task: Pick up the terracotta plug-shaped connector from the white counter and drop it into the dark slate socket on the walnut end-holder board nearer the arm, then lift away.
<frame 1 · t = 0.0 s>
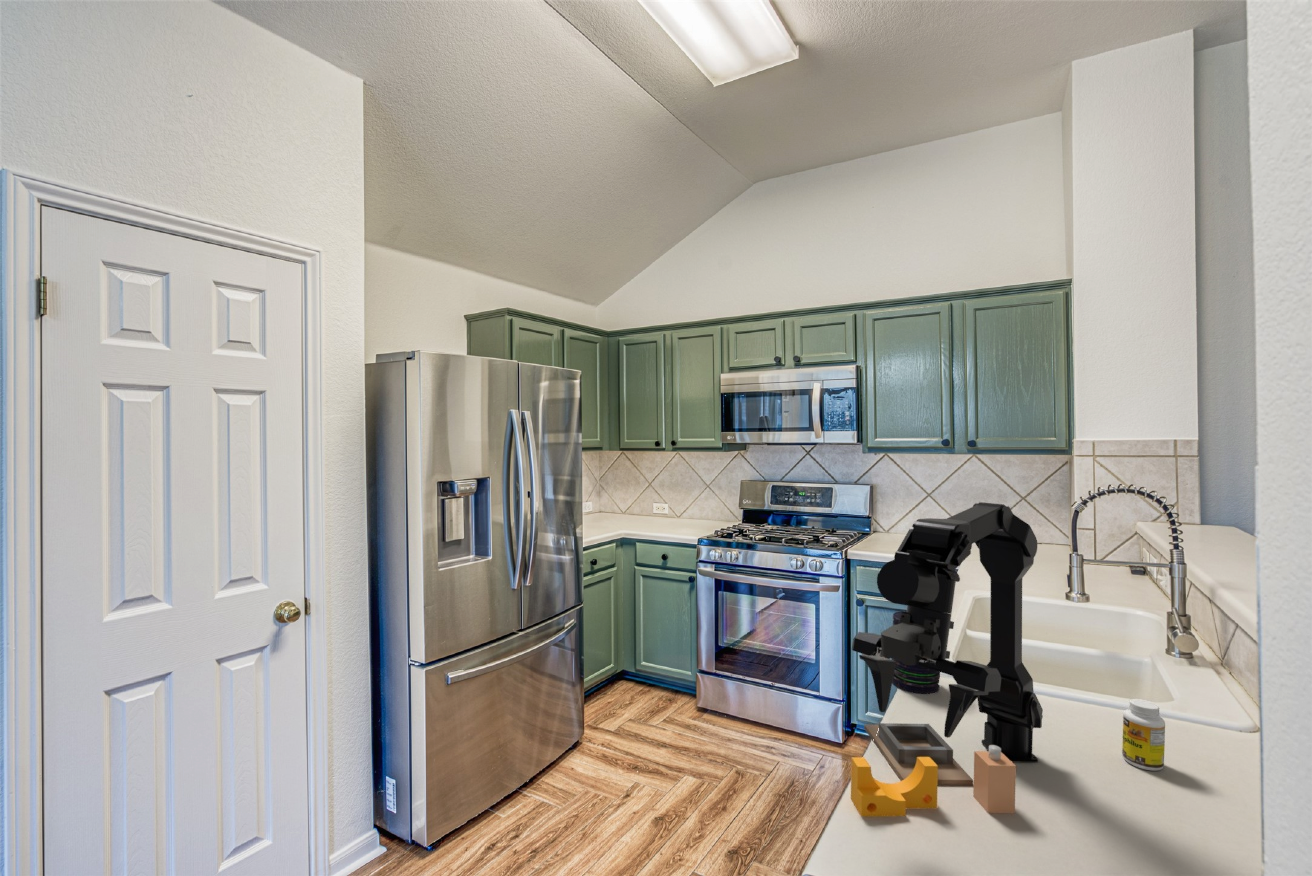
hand: (913, 723, 85), 15 cm above the worktop, tool pointing down, fingers open, 9 cm apart
storage jar: (915, 685, 136), on the worktop
supplement bottle: (1142, 764, 105), on the worktop
connector: (993, 804, 92), on the worktop
end holder: (913, 754, 106), on the worktop
pipe clamp: (895, 809, 91), on the worktop
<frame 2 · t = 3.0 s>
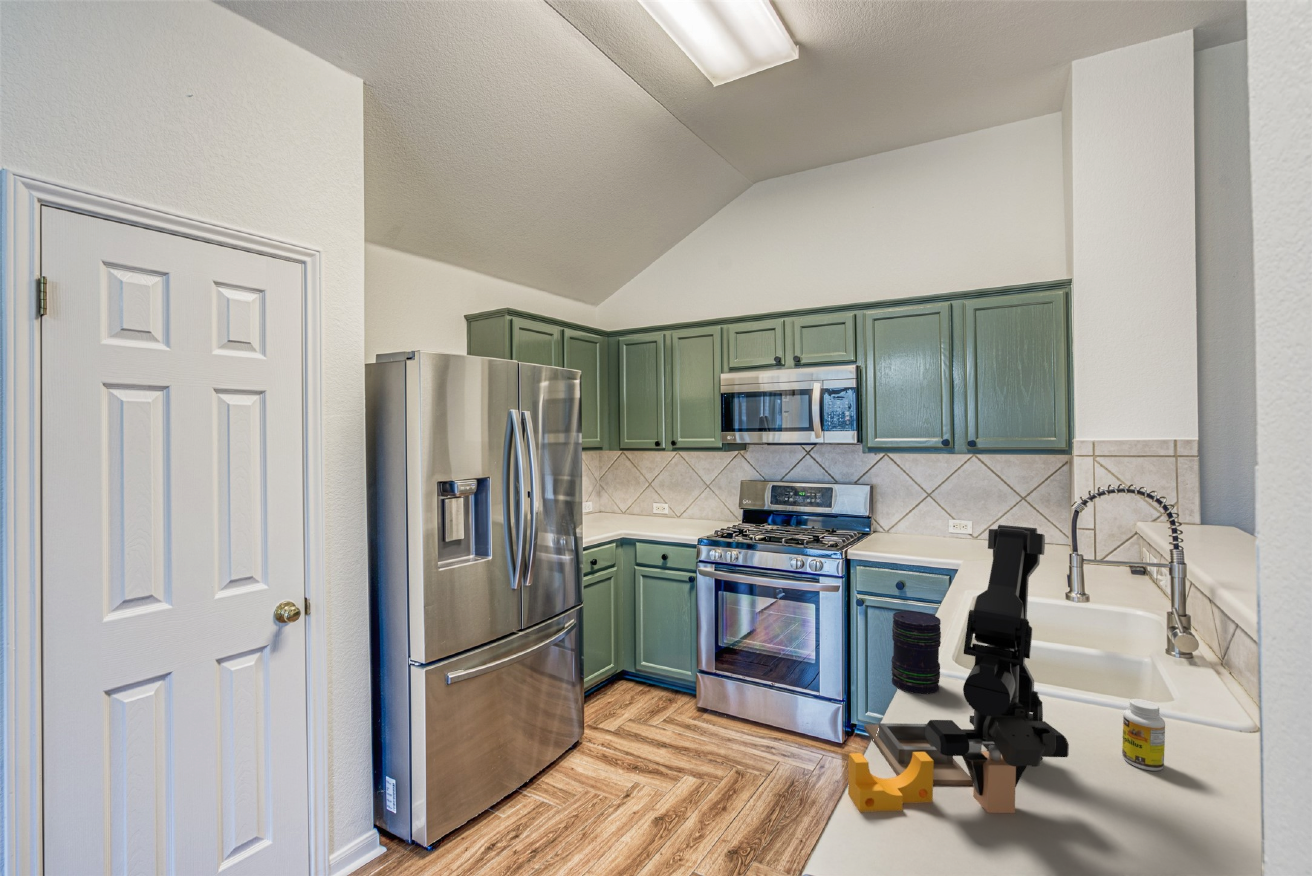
hand: (993, 794, 92), 2 cm above the worktop, tool pointing down, fingers closed on connector, 4 cm apart
connector: (993, 804, 92), on the worktop, touching gripper
pipe clamp: (892, 803, 93), on the worktop
everything else where it was.
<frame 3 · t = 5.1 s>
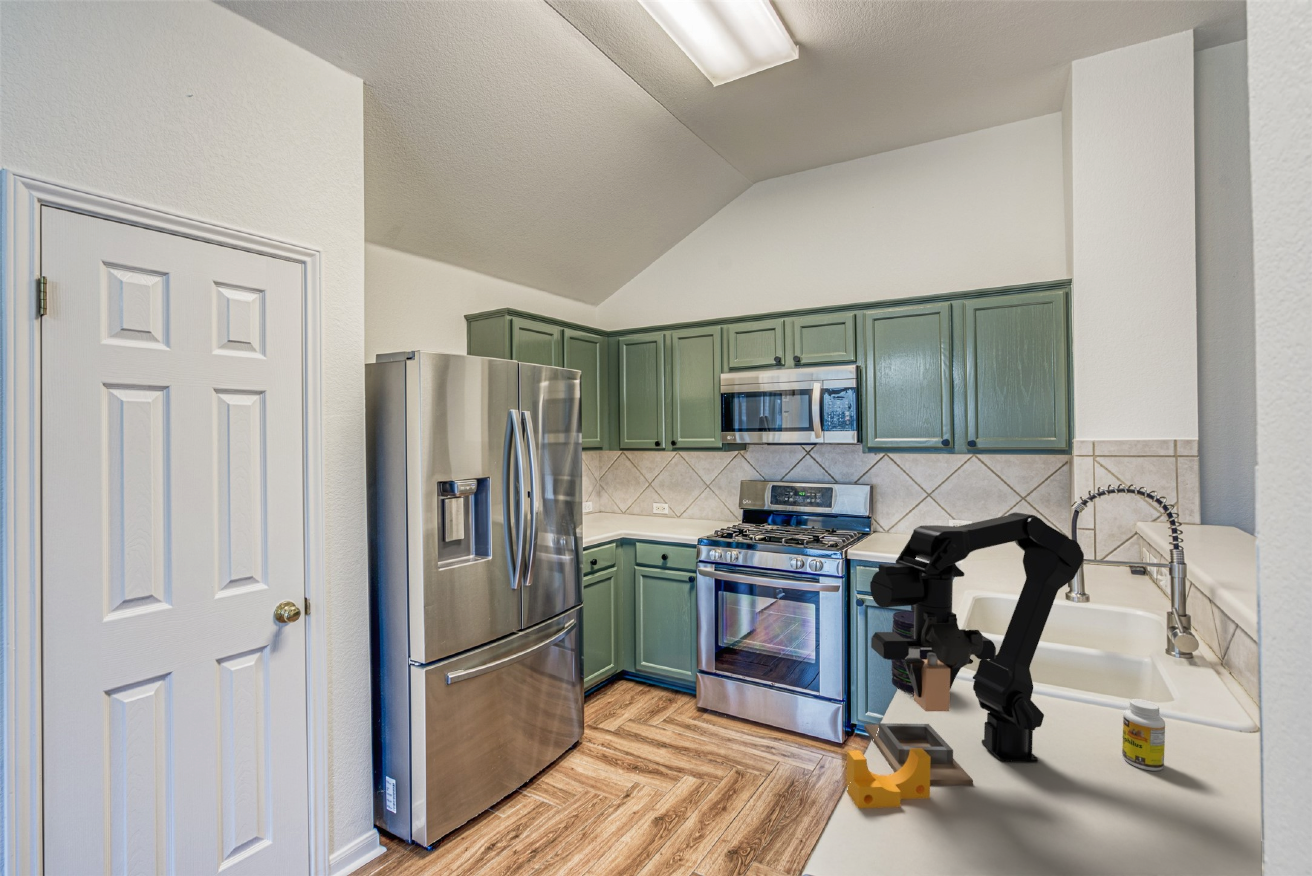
hand: (931, 696, 103), 12 cm above the worktop, tool pointing down, fingers closed on connector, 4 cm apart
connector: (931, 705, 103), point 10 cm above the worktop, touching gripper
when the fingers open (4 cm above the worktop, at t = 7.4 s): connector drops 2 cm, resting on end holder.
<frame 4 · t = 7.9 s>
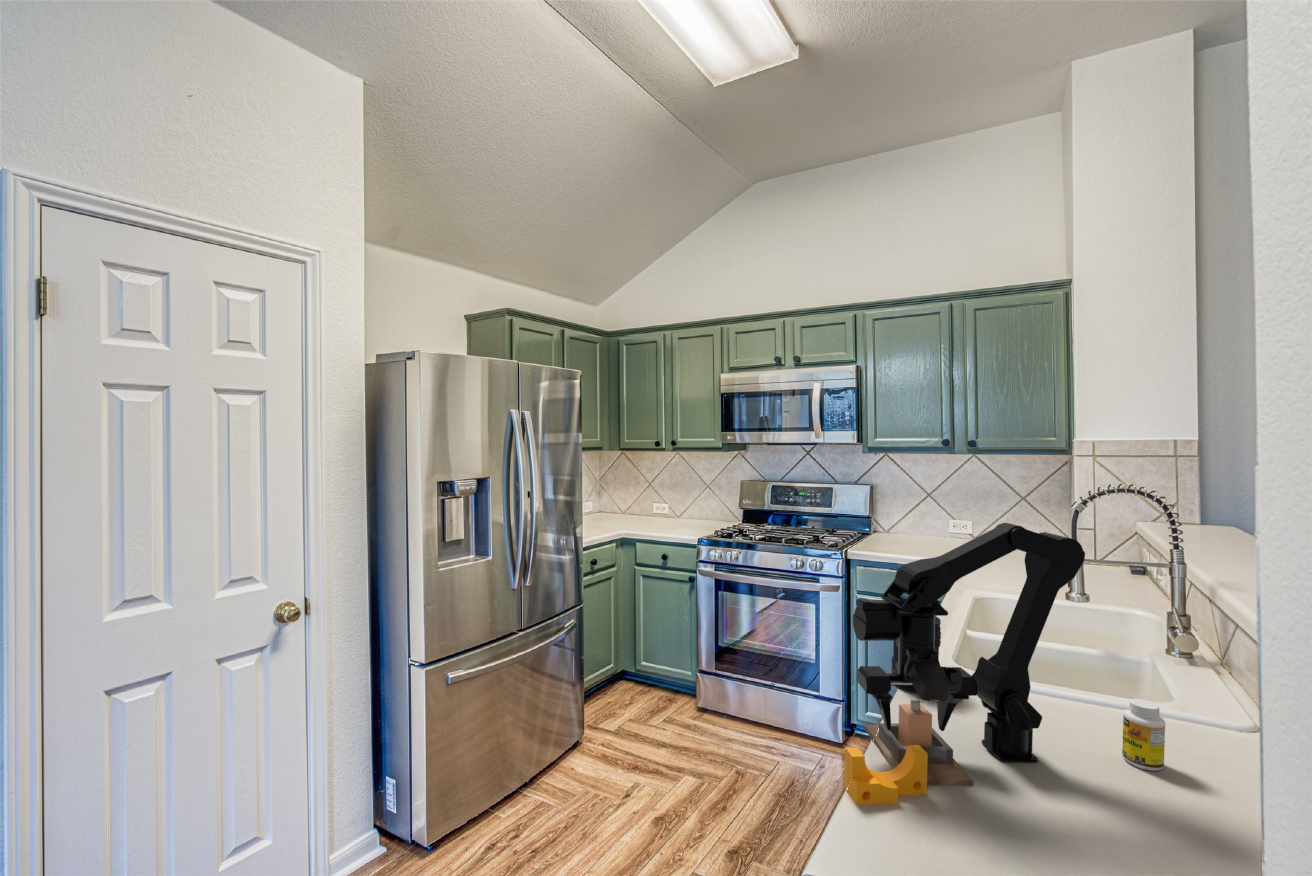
hand: (914, 729, 106), 4 cm above the worktop, tool pointing down, fingers open, 9 cm apart
connector: (914, 749, 106), point 1 cm above the worktop, touching end holder
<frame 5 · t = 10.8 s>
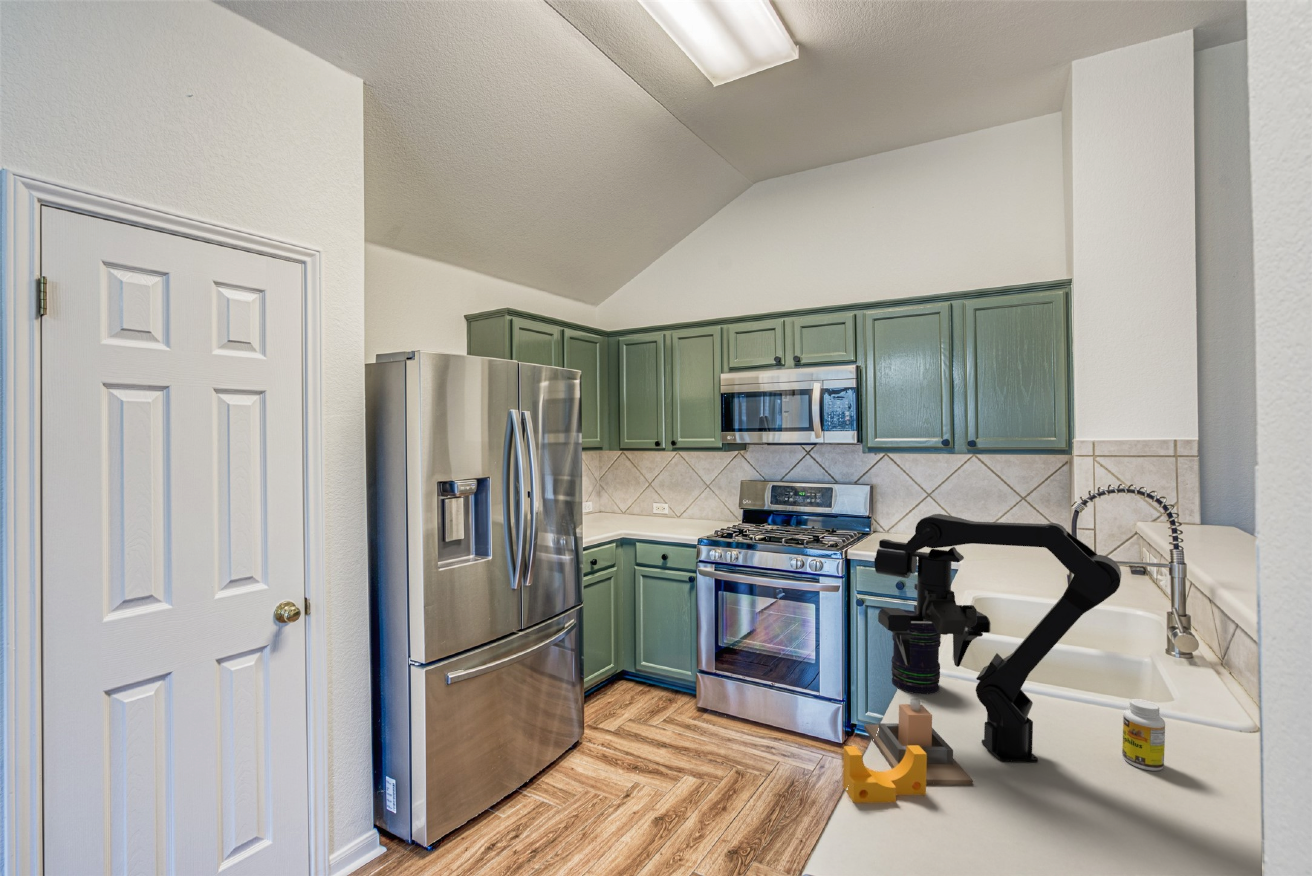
hand: (932, 665, 115), 12 cm above the worktop, tool pointing down, fingers open, 9 cm apart
at the end: connector 0.1 cm off-centre on the end holder, point 0.8 cm above the end holder's base; the gripper is holding nothing; connector tilted 0° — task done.
